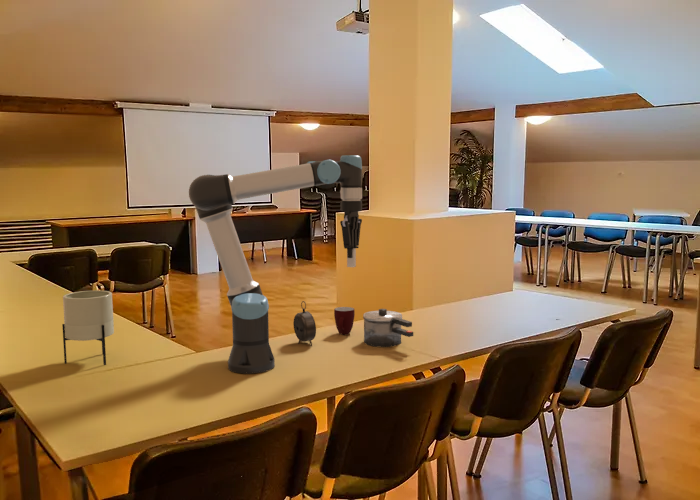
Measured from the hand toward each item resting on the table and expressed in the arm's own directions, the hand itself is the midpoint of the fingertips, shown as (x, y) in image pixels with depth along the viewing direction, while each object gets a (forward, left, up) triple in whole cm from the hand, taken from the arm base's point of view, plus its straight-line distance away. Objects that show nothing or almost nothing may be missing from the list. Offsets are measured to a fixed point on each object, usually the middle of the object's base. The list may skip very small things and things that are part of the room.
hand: (351, 266), depth 217 cm
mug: (+11, +20, -31) cm, 38 cm away
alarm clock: (-9, +18, -31) cm, 37 cm away
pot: (+16, -3, -30) cm, 34 cm away
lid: (+16, -2, -21) cm, 27 cm away
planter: (-79, +43, -31) cm, 95 cm away
